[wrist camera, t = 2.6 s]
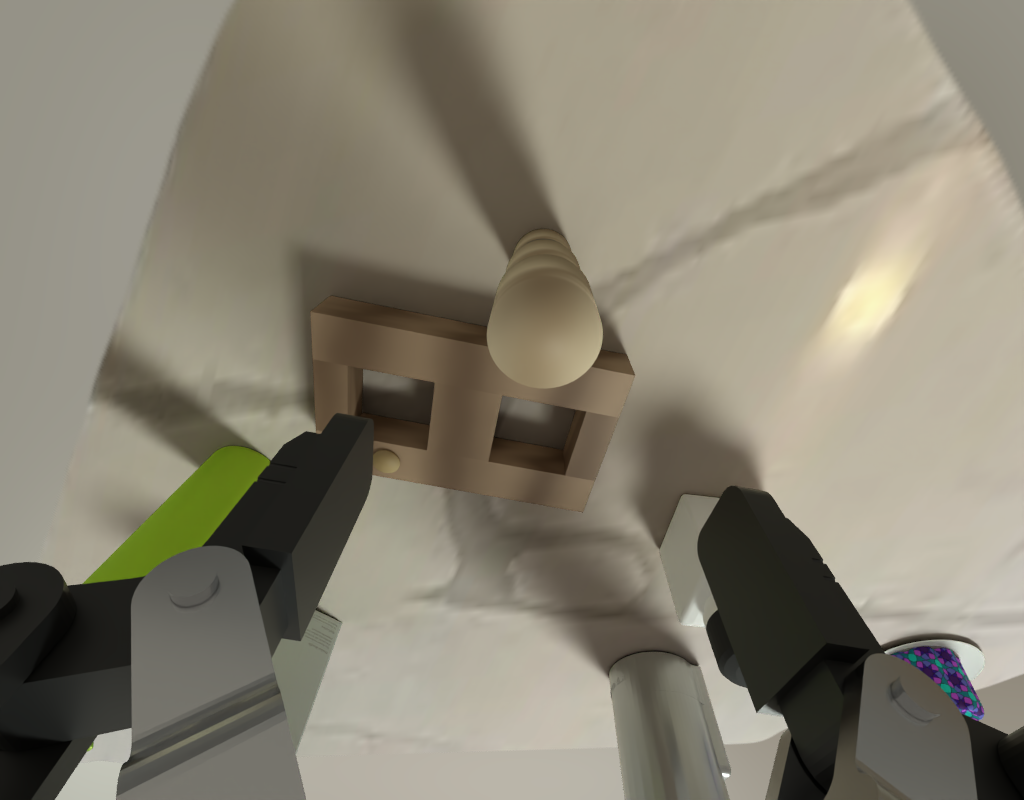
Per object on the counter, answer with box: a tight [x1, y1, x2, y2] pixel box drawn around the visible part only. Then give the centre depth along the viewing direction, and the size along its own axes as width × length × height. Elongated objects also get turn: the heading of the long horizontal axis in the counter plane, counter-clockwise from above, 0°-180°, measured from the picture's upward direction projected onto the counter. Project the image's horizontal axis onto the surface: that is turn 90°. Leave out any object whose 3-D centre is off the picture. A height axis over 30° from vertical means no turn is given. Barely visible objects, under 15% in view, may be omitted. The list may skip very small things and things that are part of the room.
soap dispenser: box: [83, 446, 270, 751], centre depth 29 cm, size 6×7×20 cm
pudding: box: [885, 640, 985, 721], centre depth 45 cm, size 12×12×5 cm
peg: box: [487, 229, 603, 389], centre depth 22 cm, size 4×4×12 cm
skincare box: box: [272, 610, 342, 754], centre depth 42 cm, size 8×6×15 cm
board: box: [310, 296, 635, 512], centre depth 31 cm, size 20×12×3 cm, turn 79°
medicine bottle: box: [659, 494, 747, 688], centre depth 33 cm, size 7×7×12 cm
